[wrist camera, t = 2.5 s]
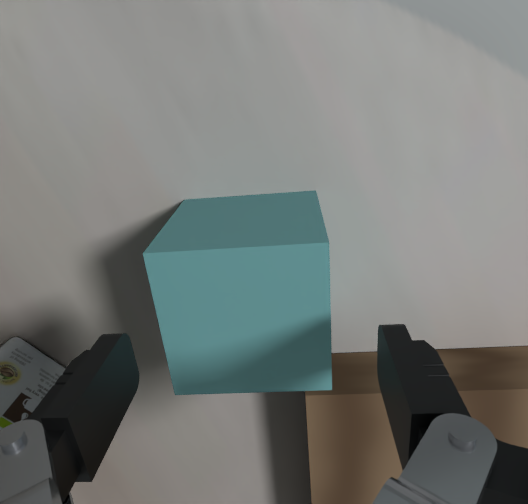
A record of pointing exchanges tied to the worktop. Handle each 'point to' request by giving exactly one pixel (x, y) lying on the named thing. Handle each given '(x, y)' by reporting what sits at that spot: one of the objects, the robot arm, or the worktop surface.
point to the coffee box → (23, 380)
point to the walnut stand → (377, 423)
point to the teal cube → (244, 294)
